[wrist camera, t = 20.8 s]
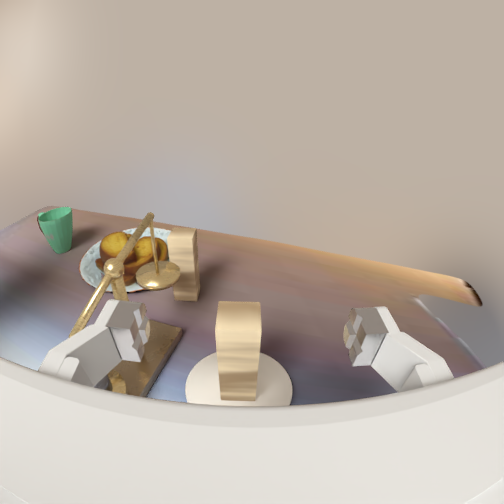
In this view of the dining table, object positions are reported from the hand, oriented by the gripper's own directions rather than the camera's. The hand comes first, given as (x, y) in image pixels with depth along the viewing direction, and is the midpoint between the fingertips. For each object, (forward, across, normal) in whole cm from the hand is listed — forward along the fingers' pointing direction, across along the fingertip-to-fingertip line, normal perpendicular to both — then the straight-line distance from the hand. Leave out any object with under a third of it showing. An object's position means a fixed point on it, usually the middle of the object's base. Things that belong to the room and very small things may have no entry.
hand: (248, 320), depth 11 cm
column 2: (+12, 0, -22) cm, 25 cm away
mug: (+48, -50, -24) cm, 74 cm away
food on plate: (+43, -24, -25) cm, 55 cm away
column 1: (+32, -10, -24) cm, 41 cm away
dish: (+12, 0, -24) cm, 26 cm away
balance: (+16, -14, -24) cm, 32 cm away
